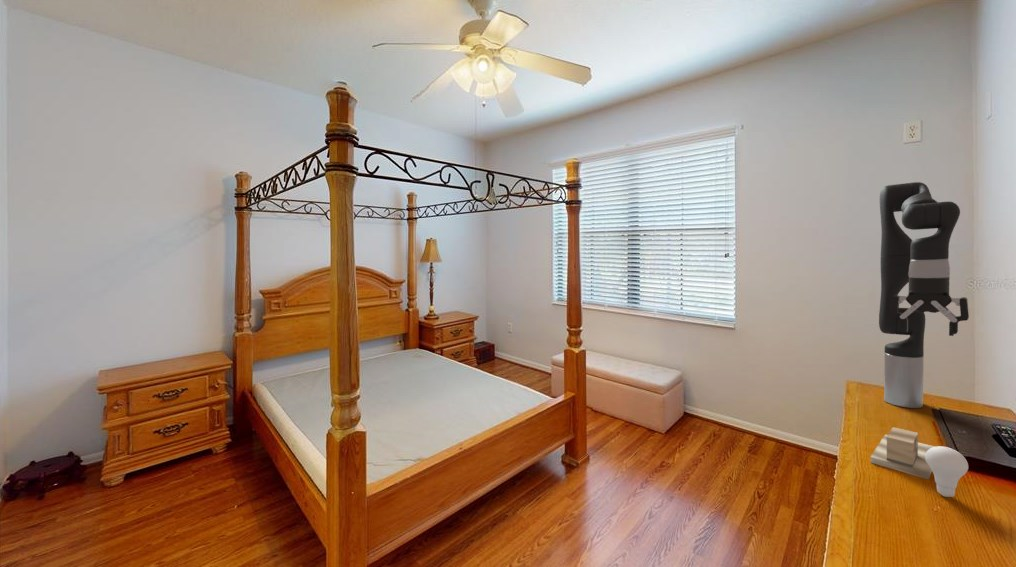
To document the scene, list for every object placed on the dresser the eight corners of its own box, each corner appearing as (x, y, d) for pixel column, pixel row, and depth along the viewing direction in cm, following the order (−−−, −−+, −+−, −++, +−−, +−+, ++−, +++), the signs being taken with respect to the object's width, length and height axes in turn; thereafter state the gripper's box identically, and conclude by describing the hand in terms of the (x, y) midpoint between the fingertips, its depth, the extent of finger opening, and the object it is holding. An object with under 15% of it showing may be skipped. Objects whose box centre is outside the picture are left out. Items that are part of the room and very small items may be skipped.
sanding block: (892, 449, 99) (892, 427, 99) (917, 455, 95) (918, 432, 95) (886, 459, 94) (886, 436, 94) (912, 467, 91) (913, 443, 90)
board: (884, 439, 107) (885, 434, 107) (938, 452, 99) (938, 447, 99) (870, 462, 96) (870, 456, 96) (928, 479, 88) (928, 473, 88)
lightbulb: (964, 494, 82) (965, 446, 82) (970, 509, 78) (971, 458, 77) (923, 484, 87) (923, 438, 86) (926, 497, 82) (927, 449, 81)
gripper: (970, 274, 100) (969, 334, 101) (894, 274, 111) (894, 328, 113) (968, 276, 96) (966, 339, 97) (889, 276, 107) (889, 332, 108)
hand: (927, 333), depth 105 cm, fingers open, 8 cm apart
